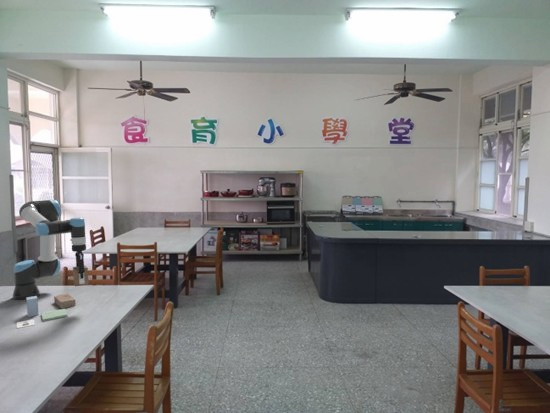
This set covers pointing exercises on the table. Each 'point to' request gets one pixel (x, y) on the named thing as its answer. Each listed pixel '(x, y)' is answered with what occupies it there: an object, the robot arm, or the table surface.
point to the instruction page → (25, 323)
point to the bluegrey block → (32, 306)
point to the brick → (64, 301)
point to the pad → (54, 314)
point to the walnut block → (76, 276)
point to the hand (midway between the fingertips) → (81, 282)
